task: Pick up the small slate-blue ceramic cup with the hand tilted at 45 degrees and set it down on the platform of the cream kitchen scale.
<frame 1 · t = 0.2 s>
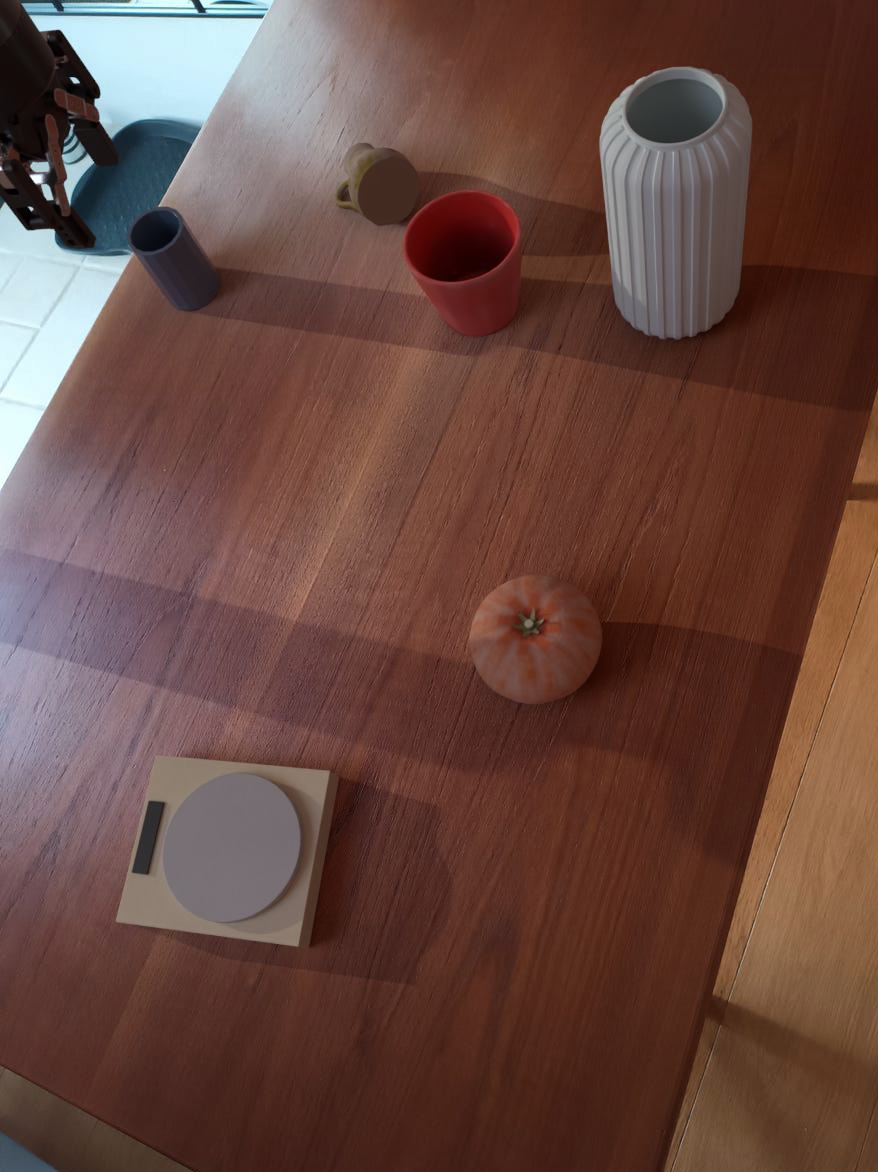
hand: (97, 203, 81), 22 cm above the table, tool pointing down, fingers open, 8 cm apart
scale: (235, 850, 83), on the table
mug: (379, 200, 105), on the table
ceramic cup: (193, 287, 106), on the table
flower pot: (481, 307, 98), on the table
vase: (676, 303, 94), on the table
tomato: (541, 655, 84), on the table
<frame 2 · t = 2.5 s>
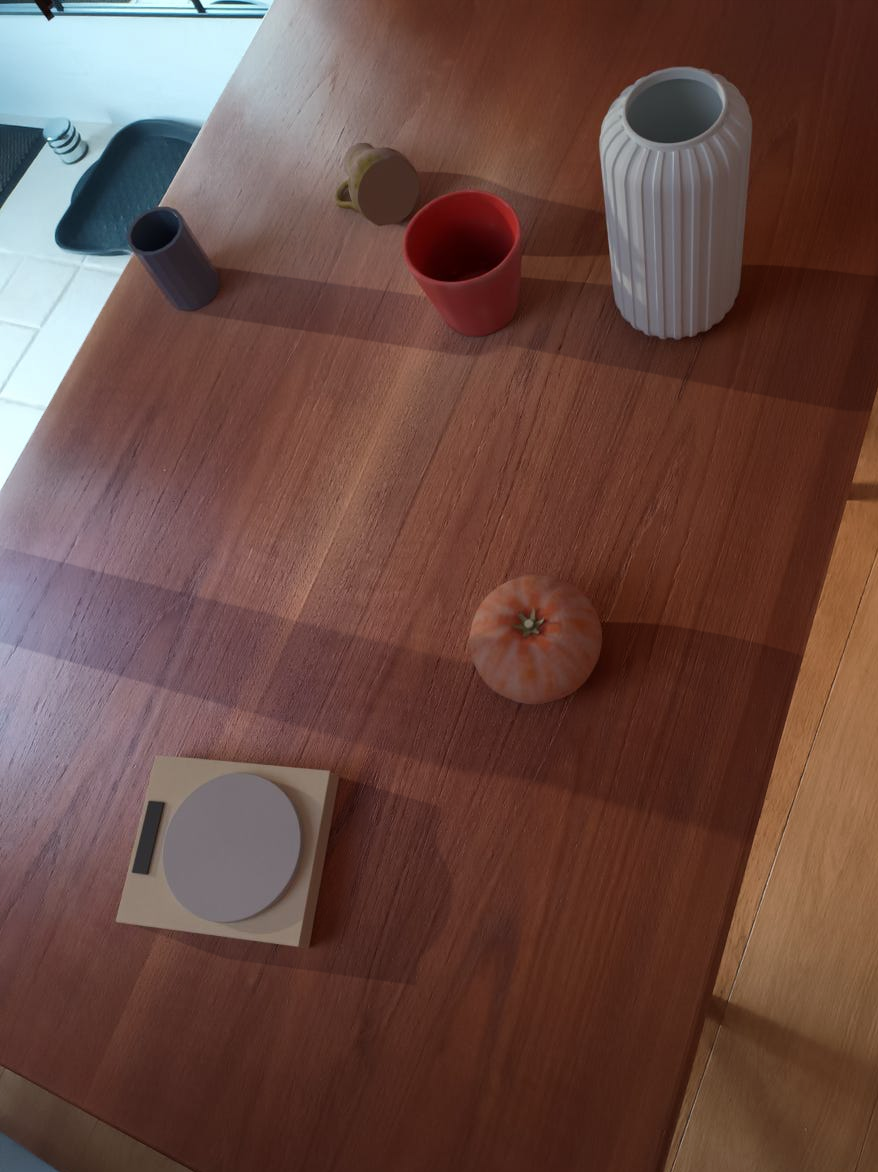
hand: (11, 46, 86), 25 cm above the table, tool tilted 40°, fingers open, 8 cm apart
nothing on the table moved.
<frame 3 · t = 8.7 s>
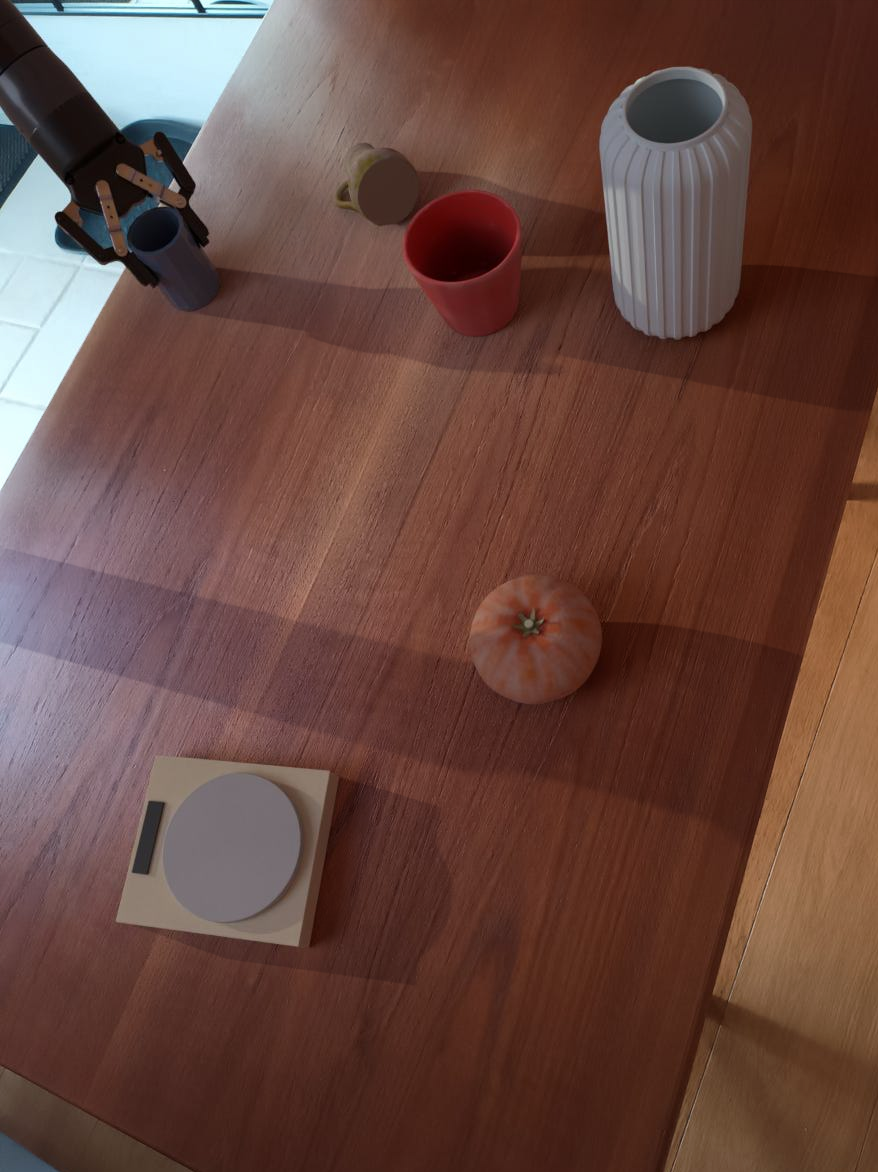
hand: (181, 264, 101), 5 cm above the table, tool tilted 45°, fingers closed on ceramic cup, 6 cm apart
ceramic cup: (193, 287, 106), on the table, touching gripper
everything else where it was.
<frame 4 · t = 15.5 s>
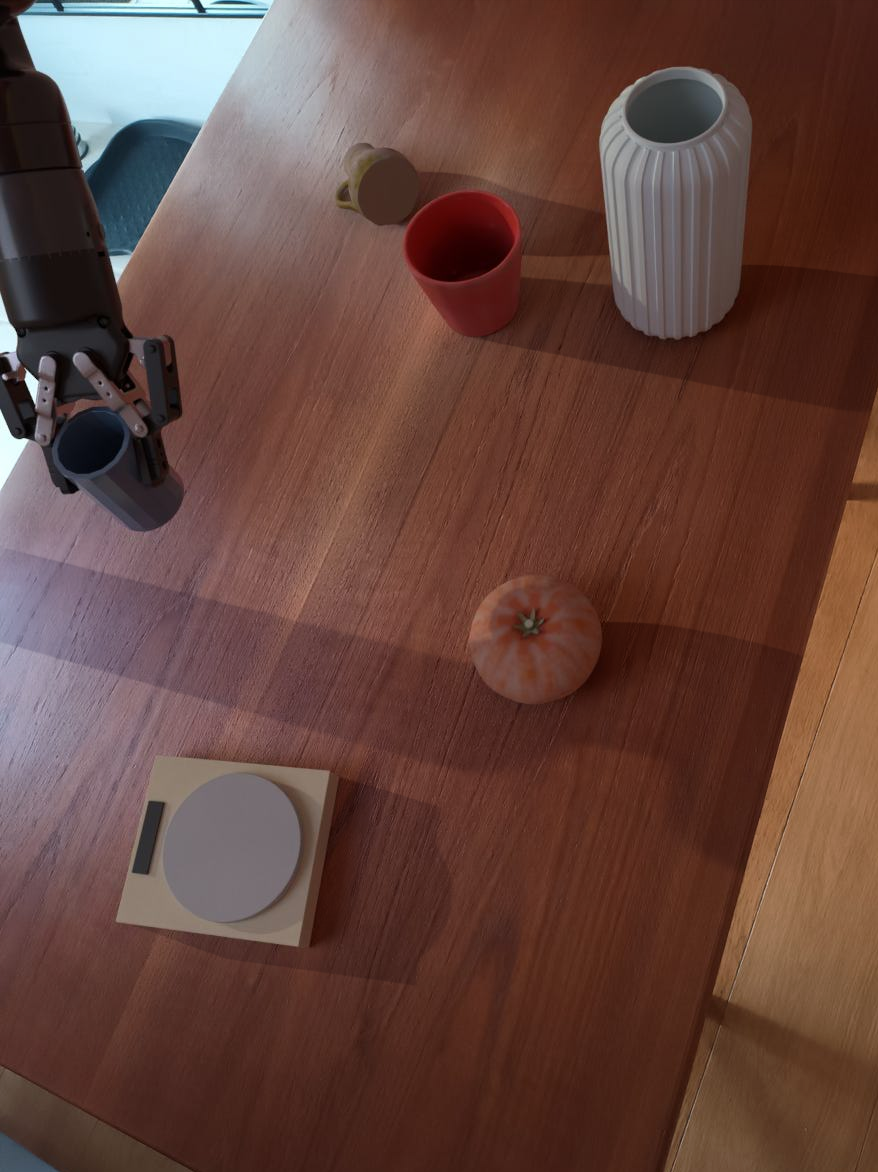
hand: (114, 487, 74), 20 cm above the table, tool tilted 45°, fingers closed on ceramic cup, 6 cm apart
ceramic cup: (149, 498, 79), point 15 cm above the table, touching gripper
everything else where it was.
when the fingers open (8 cm above the table, at t = 22.3 s): ceramic cup stays where it is, resting on scale.
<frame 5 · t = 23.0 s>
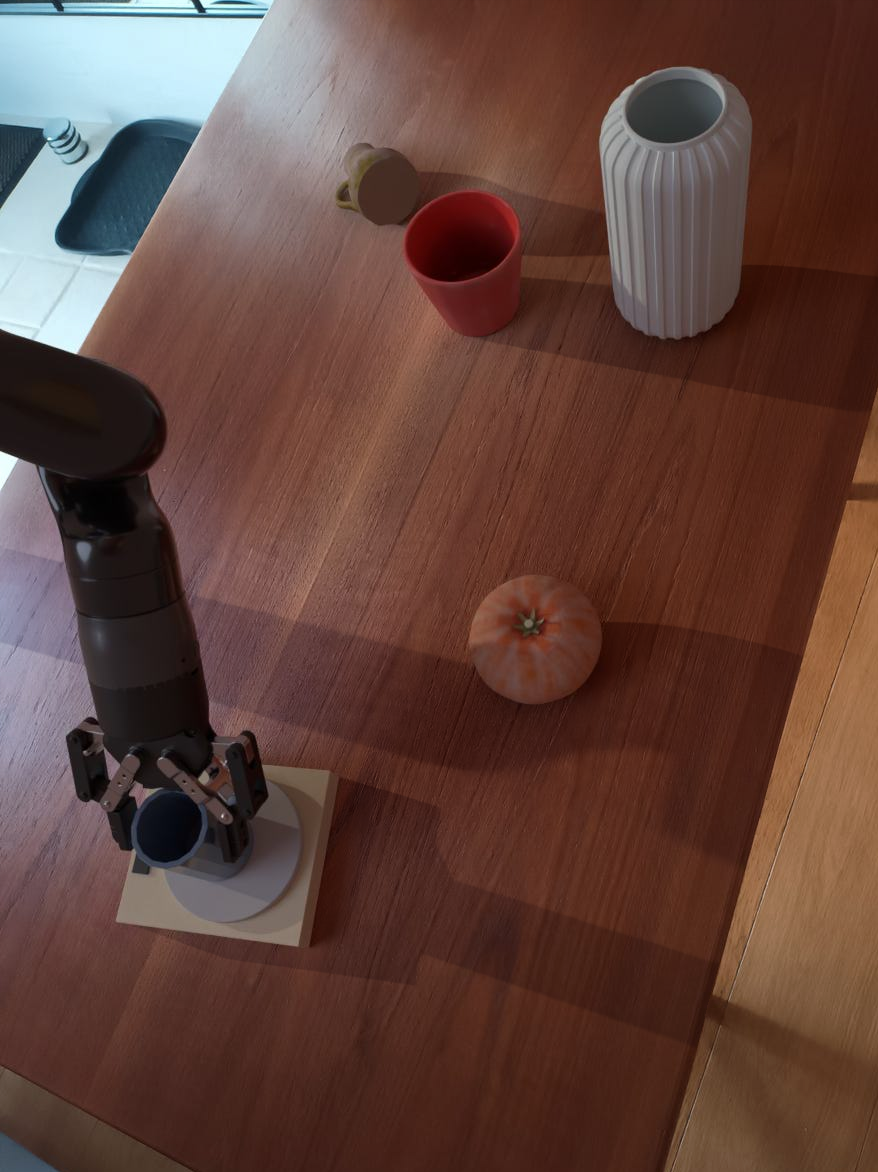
hand: (183, 850, 75), 9 cm above the table, tool tilted 45°, fingers open, 8 cm apart
ceramic cup: (219, 844, 80), point 3 cm above the table, touching scale
everything else where it was.
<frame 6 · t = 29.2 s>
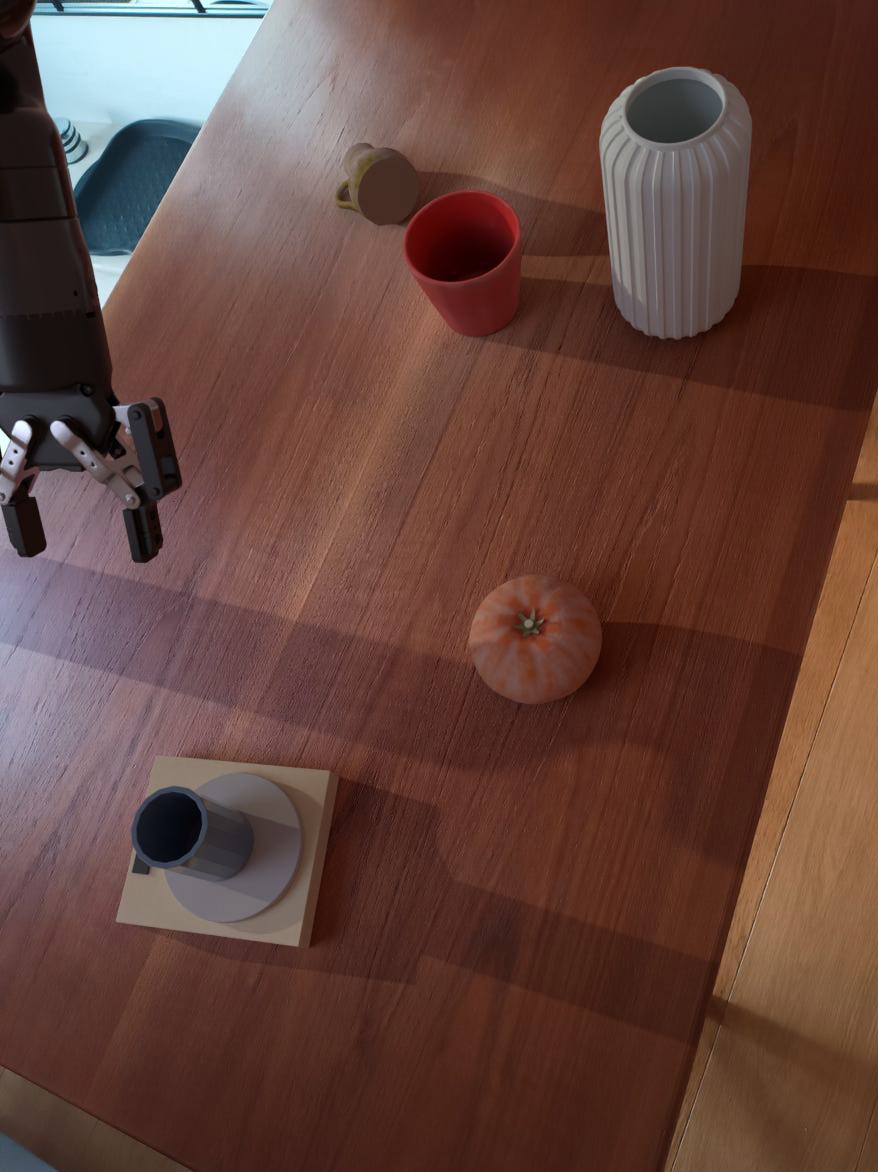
hand: (89, 556, 66), 25 cm above the table, tool tilted 45°, fingers open, 8 cm apart
nothing on the table moved.
at the end: ceramic cup inside the target area on the scale (1.0 cm from its centre), point 3.2 cm above the scale's base; ceramic cup tilted 0°; the gripper is holding nothing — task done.
